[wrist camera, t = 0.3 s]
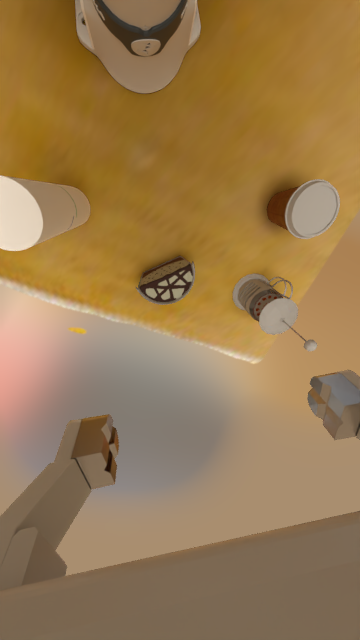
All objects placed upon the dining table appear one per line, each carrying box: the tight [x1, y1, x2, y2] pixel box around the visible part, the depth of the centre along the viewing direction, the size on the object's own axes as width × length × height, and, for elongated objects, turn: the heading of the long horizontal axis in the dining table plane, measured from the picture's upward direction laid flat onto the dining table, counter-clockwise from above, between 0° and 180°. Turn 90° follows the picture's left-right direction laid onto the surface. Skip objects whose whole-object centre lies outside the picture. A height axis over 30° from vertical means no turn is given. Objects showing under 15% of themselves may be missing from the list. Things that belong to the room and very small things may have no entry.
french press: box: [233, 274, 317, 351], centre depth 49 cm, size 10×12×25 cm
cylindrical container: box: [0, 175, 90, 251], centre depth 36 cm, size 7×7×25 cm
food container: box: [136, 256, 195, 305], centre depth 51 cm, size 12×6×10 cm, turn 112°
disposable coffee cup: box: [267, 179, 340, 239], centre depth 47 cm, size 10×10×12 cm
